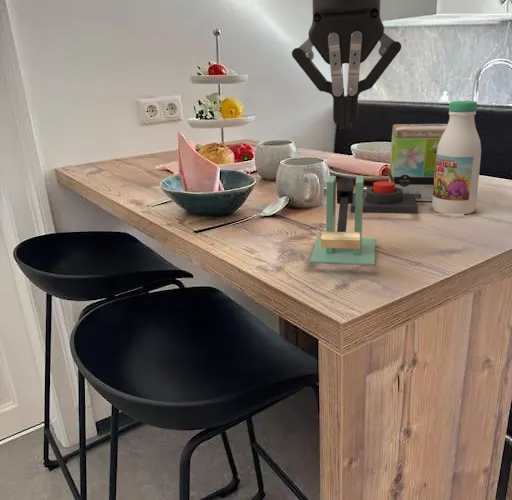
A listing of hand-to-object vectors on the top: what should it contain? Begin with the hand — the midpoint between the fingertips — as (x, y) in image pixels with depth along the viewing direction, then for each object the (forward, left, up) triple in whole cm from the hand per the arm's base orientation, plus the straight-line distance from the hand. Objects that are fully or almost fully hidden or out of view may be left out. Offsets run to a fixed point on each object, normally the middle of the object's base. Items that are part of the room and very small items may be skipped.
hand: (345, 127), depth 61 cm
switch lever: (0, -4, -13) cm, 14 cm away
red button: (-6, -34, -16) cm, 38 cm away
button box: (-6, -34, -20) cm, 40 cm away
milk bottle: (-19, -35, -20) cm, 44 cm away
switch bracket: (0, -8, -20) cm, 21 cm away
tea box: (-15, -45, -20) cm, 51 cm away
